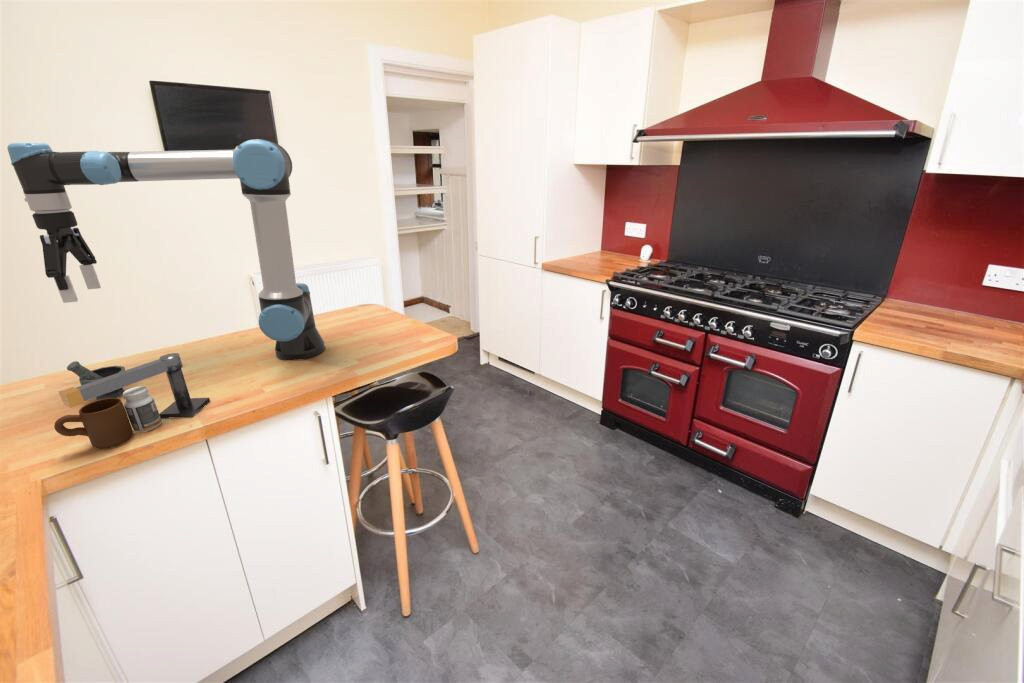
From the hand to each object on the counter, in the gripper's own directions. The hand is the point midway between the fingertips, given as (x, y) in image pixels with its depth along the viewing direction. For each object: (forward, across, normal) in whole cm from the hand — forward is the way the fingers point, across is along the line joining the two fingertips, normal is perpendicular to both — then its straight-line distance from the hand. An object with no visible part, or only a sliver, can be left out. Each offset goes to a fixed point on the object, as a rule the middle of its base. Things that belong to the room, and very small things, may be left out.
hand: (83, 295), depth 122 cm
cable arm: (+16, +28, +14) cm, 35 cm away
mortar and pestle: (+28, +5, -1) cm, 28 cm away
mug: (+28, +33, +8) cm, 44 cm away
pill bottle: (+28, +28, +15) cm, 42 cm away
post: (+28, +22, +22) cm, 41 cm away
